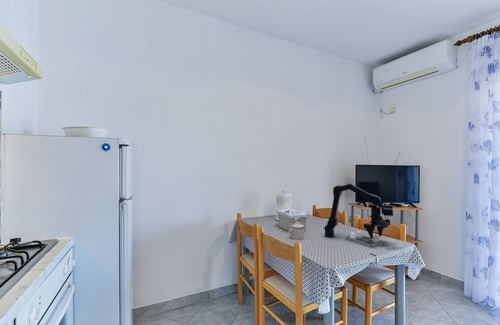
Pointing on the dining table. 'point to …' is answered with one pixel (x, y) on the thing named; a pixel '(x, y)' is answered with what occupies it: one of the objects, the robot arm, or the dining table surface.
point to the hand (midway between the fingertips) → (375, 237)
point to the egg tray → (365, 241)
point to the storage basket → (291, 218)
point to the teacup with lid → (297, 231)
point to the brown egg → (375, 239)
